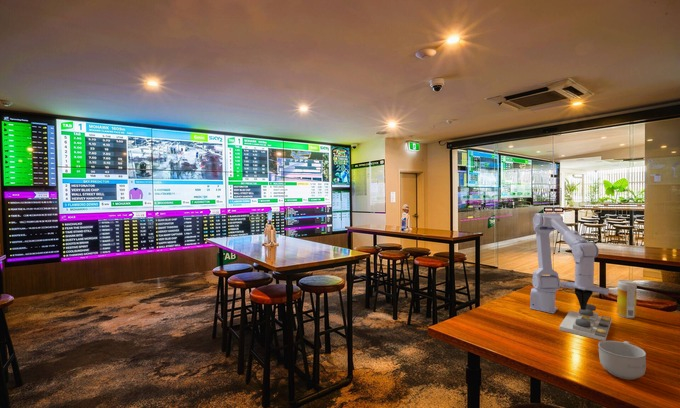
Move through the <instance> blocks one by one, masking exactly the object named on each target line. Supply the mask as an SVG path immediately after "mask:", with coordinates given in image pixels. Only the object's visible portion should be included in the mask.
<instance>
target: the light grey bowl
mask: <svg viewBox="0 0 680 408" xmlns="http://www.w3.org/2000/svg"><path fill="white" fill-rule="evenodd" d="M597 348H598V355H599V362H600V363H599V364H600V365H601V366H602V367H603V369H604V370H606V371H607V372H608V373H609V374H611V375H613V376H614V377H617V378H620V379H623V380H629V381H630V380H631V381H632V380H636V379H639V378H642V377H643V376H644V375H645V373H646V369H647V360H646V358H647V357H646V356H647V353H646V351H645V350H644V349H643V348H641V347H639V346H637V345H635V344H634V345H633V344H632V343H631V342H630V341H626V340H624V341H617V340H606V341H599V342H598V344H597Z"/></svg>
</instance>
